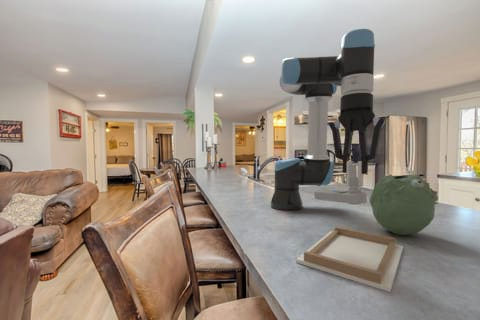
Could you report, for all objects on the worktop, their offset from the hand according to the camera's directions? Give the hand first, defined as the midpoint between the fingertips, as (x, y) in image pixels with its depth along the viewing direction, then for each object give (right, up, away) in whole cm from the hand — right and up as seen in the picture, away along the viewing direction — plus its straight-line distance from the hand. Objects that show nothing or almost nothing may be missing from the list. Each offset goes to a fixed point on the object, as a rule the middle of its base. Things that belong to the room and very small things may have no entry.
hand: (354, 185), depth 63 cm
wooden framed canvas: (0, -18, +1) cm, 18 cm away
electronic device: (-3, -5, +3) cm, 6 cm away
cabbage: (+23, -18, +17) cm, 34 cm away
